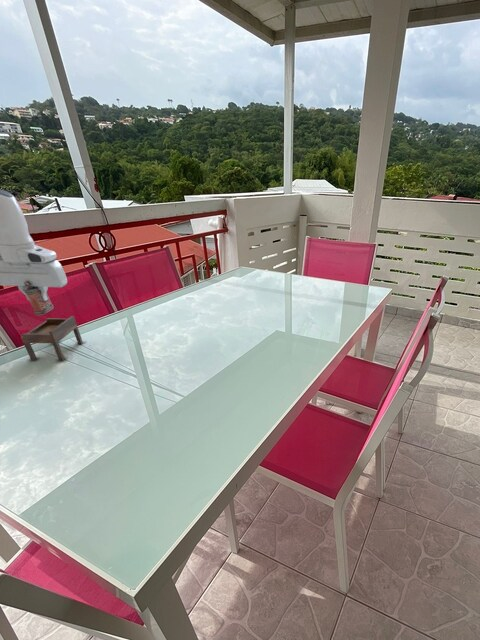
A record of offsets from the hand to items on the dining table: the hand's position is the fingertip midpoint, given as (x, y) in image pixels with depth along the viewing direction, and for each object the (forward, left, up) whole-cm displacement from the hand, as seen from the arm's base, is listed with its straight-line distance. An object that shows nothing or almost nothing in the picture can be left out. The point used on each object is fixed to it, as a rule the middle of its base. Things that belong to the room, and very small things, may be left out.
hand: (38, 300), depth 105 cm
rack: (0, 0, -18) cm, 18 cm away
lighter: (+1, 0, -4) cm, 4 cm away
